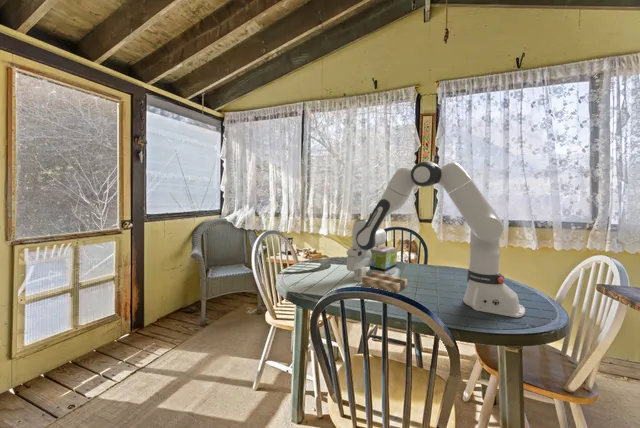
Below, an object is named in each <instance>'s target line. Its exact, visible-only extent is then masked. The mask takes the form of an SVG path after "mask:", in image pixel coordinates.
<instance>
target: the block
mask: <svg viewBox="0 0 640 428" xmlns="http://www.w3.org/2000/svg"><path fill="white" fill-rule="evenodd" d="M358 274H359V277H355V273H354V272H353V275H354V276H353V280H354V281H356V282H358V283H359V282H360V283H362V277H363V276H367V266H366V267H363V268H360V269H358Z"/></svg>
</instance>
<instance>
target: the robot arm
mask: <svg viewBox="0 0 640 428" xmlns="http://www.w3.org/2000/svg"><path fill="white" fill-rule="evenodd" d="M437 184H439V185H440V186H441V187H442V188H443V189H444V191H445V192H446V194H447V195H448V196H449V198H450V199H451V201H452V203H453V204H454V205H455V207H456V209H457V210H458V212H459V213H460V215H461V216H462V218H463V220H464V221H465V222H466V224H467V225H468V228H469V229H470V238H469V239H470V241H469V263H468V269H467V273H466V274H467V275H466V282H467V286H466V290H465V294H464V296H463V298H462V302H463V303H464V304H466V305H467V306H469V307H471V308H472V309H473V310H474V311H478V312H484V313H489V314H494V315H500V316H506V317H512V318H517V319H518V318H522V317H523V316H524V315H525V314H526V308H525V307H524V306H523V304H520V301H519V297H518V294H517V292H515V291H514V290H513V289H511V288H510V287H509V286H508V285H506V284H505V275H504V274H501V273H500V259H501V251H500V237H501V236H502V235H503V233H504V230H505V228H504V223H503V221H502V219H501V218H500V217H499V215H498V214H497V212H496V211H495V209H494V208H493V207H492V206H491V204H490V203H489V202H488V200H487V198H485V196H484V195H483V193H482V192H481V190H480V189H479V187H478V186H477V185H476V184H475V182H474V180H472V177H471V176H470V174H469V173H468V172H467V171H466V170H465V169H464V168H463V167H462V166H461V165H460V164H459V163H457V162H449V163H447V164H445V165H443V166H440V165H439V164H438V163H436V162H434V161H429V160H428V161H427V160H425V161H421V162H418V163H416V164H415V165H414V166H413V167H412V169H410V168H408V167H401V168H398V169H397V170H396V171H395V172H394V174H393V176H392V177H391V179H390V181H389V182H388V184H387V187H386V188H385V190H384V192H383V195H382V196H381V197H380V199H379V201H378V203H377V204H376V205H375V207H374V209H373V210H372V211H371V214H370V216H369V217H368V218H367V219H359V220H354V222H353V223H352V224H353V225H352V232H351V234H352V237H351V238H352V242H351V243H352V244H351V246H350V248H348V250H346V270H347V271H349V272H353V274H354V273H355V277H359V274H358V269H360V268H363V267H366V268H367V266H370V264H372V253H371V249H374V248H377V247H380V246H383V245H384V244H385V243H386V242H387V239H388V235H387V234H388V233H387V232H386V230H385V229H384V228H383V227H381V226H382V223H384V220H385V219H386V218H387V217H388V216H389V215H391V214H392V213H393V212H396V211H397V210H399V209H401V208H403V206H404V205H405V203H406V202H407V200H408V199H409V197H410V194H411V193H412V191H413V189H414V188H415V187H416V186H419V187H422V188H423V187H424V188H425V187H432V186H434V185H437Z"/></svg>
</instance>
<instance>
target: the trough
mask: <svg viewBox="0 0 640 428" xmlns="http://www.w3.org/2000/svg"><path fill="white" fill-rule="evenodd" d="M361 285H362V286H365V285H366V286H365V287H369V288H370V287H371V288H373V287H374V289H377V288H379V290H381V289H384V290H383V291H386V290H388V291H387V292H390V291H392V292H391V293H394V292H395V294H398V293H400V292H402V291H403V290H405V289H406V288H407V287H408V279H407V278H403V277H399V276H396V275H395V276H394V275H385V274H380V273H376V272H372V273H371V274H370V276H369V275H366V276H363V277H362V282H361Z"/></svg>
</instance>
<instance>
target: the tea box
mask: <svg viewBox="0 0 640 428" xmlns="http://www.w3.org/2000/svg"><path fill="white" fill-rule="evenodd" d="M370 250H371V253H372V264H370V265H369V273H368V274H369V275H370V274H371V273H372V272H376V273H380V274H385V275H390V276H392V275H393V274H394V273H396V272H397V257H398V248H397V247H393V246H386V245H380V246H377V247H374V248H371V249H370ZM369 275H368V276H369Z"/></svg>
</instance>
